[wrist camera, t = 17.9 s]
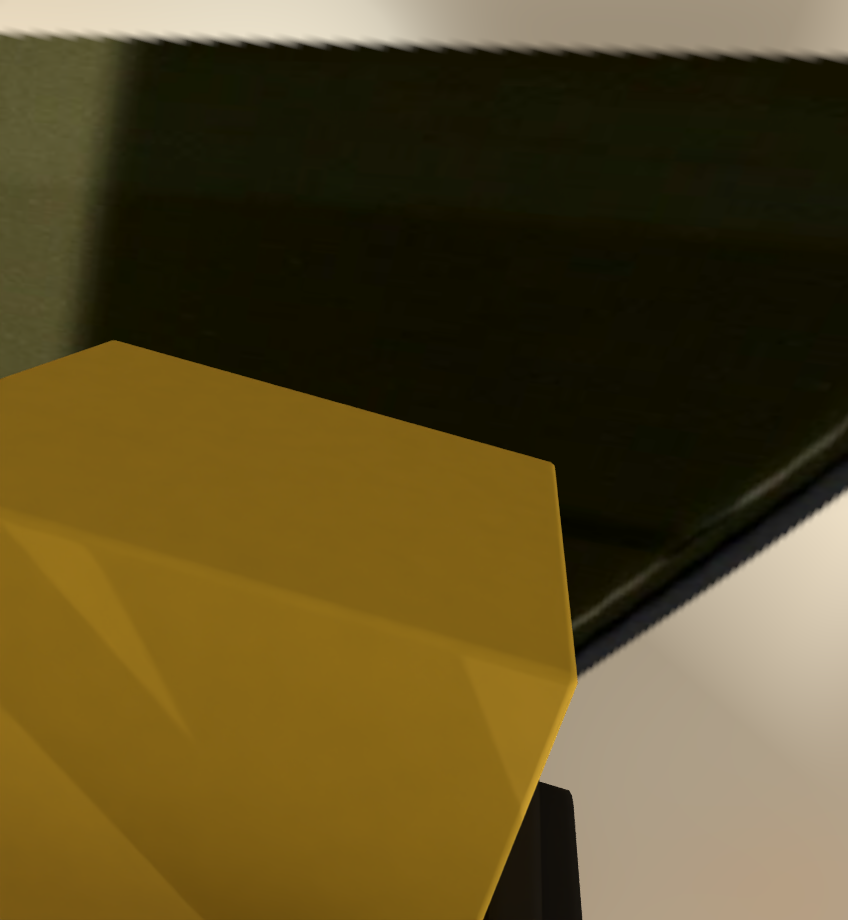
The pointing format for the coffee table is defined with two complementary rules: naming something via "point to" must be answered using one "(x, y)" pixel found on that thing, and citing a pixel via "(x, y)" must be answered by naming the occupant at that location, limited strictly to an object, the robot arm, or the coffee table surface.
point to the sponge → (264, 650)
